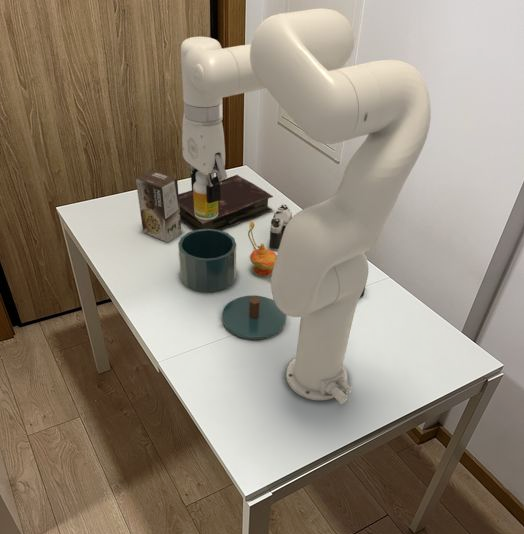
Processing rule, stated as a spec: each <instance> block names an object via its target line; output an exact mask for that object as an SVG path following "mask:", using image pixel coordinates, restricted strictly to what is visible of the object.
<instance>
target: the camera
mask: <svg viewBox="0 0 524 534" xmlns="http://www.w3.org/2000/svg"><path fill="white" fill-rule="evenodd" d="M292 217H293V213H292V211H291V209H290V208H289V206H287V204H282V205H280V206H279V207H278V208H277V210H276V211H275V212H274V214H273V218H271V220H270V227H269V229H270V230H269V245H268V247H269V250H271V251H277V252H278V250H279V246H280V243H281V239H282V236H283V233H284V230H285V227H286V225H287V224H288V222H289V221H290V220H291V218H292Z"/></svg>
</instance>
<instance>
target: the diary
mask: <svg viewBox="0 0 524 534" xmlns="http://www.w3.org/2000/svg"><path fill="white" fill-rule="evenodd" d="M178 195H179V207H180V221H181V222H183V223H184V224H185V225H187V226H188V227H189V228H191V229H192V231H195V230H198V229H216V230H221V231H223V230H225V229H227V228H229V227H231V226H233V225H235V224H238V223H241V222H245V221H249V220H252V219H255V218H258V217H260V216H262V215H264V214H267V213H269V212H271V211H273V209H272V208H271V207H269V199H271V198H273V197H274V196H273V195H272V194H271V193H269V192H267V191H266V190H265V189H263V188H261V187H260V186H258V185H256V184H254V183H253V182H251V181H249V180H247V179H246V178H244V177H242V176H240V175H238V174H235V175H232V176H229V177H227V178H226V179H224V180H223V181H222V184H220V195H221V199H220V200H219V201H218V216H217V217H216V218H214V219H211V220H202V219H199V218H197V217H196V216H195V214H194V196H193V191H192V189H191V190H188V191H185V192H182V193H178Z"/></svg>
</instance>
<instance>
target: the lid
mask: <svg viewBox="0 0 524 534" xmlns="http://www.w3.org/2000/svg"><path fill="white" fill-rule="evenodd" d="M221 320H222V321H221V322H222V323H223V326H224V327H225V328H226V329H227V331H229V332H230V333H231V334H233V335H235V336H238V337H240V338H245V339H251V340H261V339H267V338H270V337H273V336H274V335H277V334H278V333H279V332H281V331H282V330H283V328H284V327H285V325H286V322H287V315H286V314H284V313H283V312H282V311H281V310H280V309H279V308H278V307H277V305H276V304H275V302H274V299H273V298H269V297H267V296H262V295H243V296H239V297H237V298H234V299H232V300H230V301H229V302H228V303H227V304H225V306H224V308H223V309H222V312H221Z"/></svg>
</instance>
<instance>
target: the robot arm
mask: <svg viewBox="0 0 524 534" xmlns="http://www.w3.org/2000/svg"><path fill="white" fill-rule="evenodd" d="M354 32H355V31H354V29H353V26H352V24H351V22H350V20H349V19H348V18H347V17H346V16H345V15H344V14H342V13H341V12H339V11H337V10H335V9H331V8H324V7H321V8H312V9H305V10H297V11H291V12H281V13H277V14H273V15H271V16H268V17H267V18H265V19H264V20H263V21H262V22H261V23H260V24H259V25H258V27H257V28H256V29H255V32H254V33H253V36H252V41H251V43H250V44H243V45H241V44H240V45H236V46H229V47H224V48H222V45H221V43H220V41H218V39H215V38H212V37H208V36H191V37H188V38H185V39H184V40H183V41H182V43H181V46H180V62H181V81H182V99H183V118H182V127H181V128H182V129H181V131H182V132H181V140H182V142H181V145H182V146H181V147H182V157H183V160H184V161H185V162H186V163H187V164H189V168H188V169H189V173H190V185H191V190H192V191H193V185H194V183H195V182H196V172H198V171H200V172H201V173H203V174H205V175H206V176H207V181H208V185H207V186H206V194H207V202H208V203H213V202H216V201H219V200H220V199H221V195H220V184H222V181H223V180H224V179H227V178H228V174H227V171H226V169H225V166H226V145H225V133H224V126H223V117H224V116H223V109H224V108H223V98H228V97H231V96H237V95H241V94H246V93H250V92H256V91H260V90H263V89H264V90H265V89H266V90H267V91H268V93H270V95H271V96H272V97H273V98H274V100H275V101H276V102H277V103H278V104H279V106H281V108H282V109H283V110H284V111H285V112H286V114H287V115H288V116H289V117H290V118H291V119H292V120H293V122H294V123H295V124H296V125H297V126H298V128H299V129H300V130H301V131H302V132H303V133H304V134H305V135H306V136H308V138H310V139H311V140H312V141H315V142H316V143H319V144H321V145H335V144H340V143H343V142H347V141H349V140H353V139H355V138H361V137H363V136H366V138H365V140H364V141H363V143H361V145H360V146H359V147H358V149H356V151H355V152H354V154H353V155H352V157H351V158H350V160H349V161H348V163H347V164H346V167H345V169H344V172H343V175H342V179H341V181H340V183H339V185H338V187H337V190H336V191H335V193H334V195H333V196H331V197H329V198H328V199H326V200H324V201H322V202H318V203H316V204H313V205H310V206H308V207H305V208H303V209H301V210H300V211H298V212H296V213H295V214H294V215H292V218H291V220H290V221H289V222H288V224H287V225H286V227H285V230H284V233H283V236H282V239H281V243H280V246H279V250H277V253H276V255H277V257H276V260H275V264H274V267H273V271H272V273H271V278H270V291H271V296H272V300H274V302H275V304H276V305H277V307H278V308H279V309H280V310H281V311H282V312H283V313H284V314H286V316H288V317H291V318H300V319H299V321H300V322H299V329H298V335H297V336H298V338H297V345H296V353H295V357H294V358H293V359H292V360H291V361H290V362H289V364H288V365H287V367H286V373H285V379H286V382H287V384H288V386H289V387H290V389H291V391H293V392H295V393H296V394H297V395H298V396H300V397H302V398H305V399H308V400H312V401H328V400H332V399H335V400H337V402H338V403H340V404H341V405H343V404H344V403H345V402H346V401H347V400H348V399H349V396H348V395H347V394H349V393H351V392H352V390H353V387H352V386H350V385H349V383H348V380H349V379H348V378H349V377H348V372H347V370H346V368H345V367H344V363H345V357H346V353H347V347H348V343H349V339H350V333H351V329H352V324H353V320H354V316H355V313H356V308H357V306H358V303H359V300H360V299H361V297H360V296H361V294H362V292H363V290H364V287H365V288H366V285H367V281H368V278H369V262H368V258H367V256H366V252H368V251H369V250H371V248H373V247H374V246H375V244H376V243H377V241H378V240H379V238H380V236H381V235H382V232H383V230H384V228H385V225H386V223H387V221H388V219H389V217H390V216H391V213H392V212H393V210H394V207H395V205H396V203H397V201H398V198H399V195H400V194H401V192H402V190H403V187H404V185H405V183H406V181H407V179H408V177H409V175H410V174H411V172H412V170H413V168H414V167H415V165H416V163H417V161H418V159H419V157H420V155H421V153H422V151H423V148H424V146H425V144H426V141H427V138H428V136H429V135H428V134H429V130H430V125H431V118H432V117H431V115H432V114H431V111H432V110H431V99H430V93H429V90H428V86H427V84H426V81H425V79H424V78H423V76H422V74H421V73H420V71H419V70H418V69H417V68H416V67H414V66H413V65H412V64H410V63H408V62H405V61H403V60H397V59H380V60H374V61H373V60H372V61H368V62H364V63H359V64H355V65H351V66H346V65H347V63H349V60H350V59H351V57H352V54H353V51H354V48H355V33H354ZM345 66H346V67H345ZM213 173H214V175H215V176H214V178H213V179H212V176H211V174H213ZM364 291H365V290H364Z"/></svg>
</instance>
